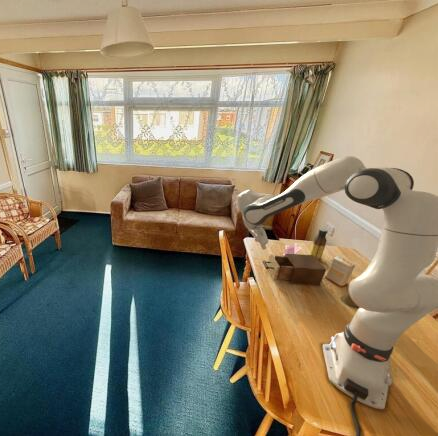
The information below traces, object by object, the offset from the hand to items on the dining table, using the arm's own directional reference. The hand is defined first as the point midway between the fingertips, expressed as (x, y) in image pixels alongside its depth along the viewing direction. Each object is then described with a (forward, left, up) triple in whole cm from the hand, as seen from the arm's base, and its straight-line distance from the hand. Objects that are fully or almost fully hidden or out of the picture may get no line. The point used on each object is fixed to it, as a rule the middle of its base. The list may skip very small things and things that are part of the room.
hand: (260, 244), depth 118 cm
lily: (+31, -13, -20) cm, 40 cm away
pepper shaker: (+8, -42, -20) cm, 48 cm away
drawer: (+9, -11, -19) cm, 24 cm away
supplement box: (+22, -36, -20) cm, 47 cm away
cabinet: (+14, -20, -20) cm, 32 cm away
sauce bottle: (+40, -25, -20) cm, 52 cm away
